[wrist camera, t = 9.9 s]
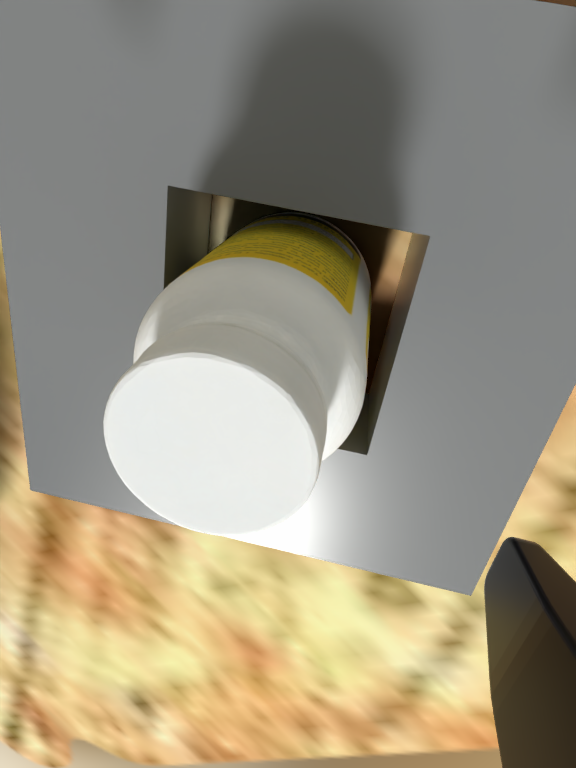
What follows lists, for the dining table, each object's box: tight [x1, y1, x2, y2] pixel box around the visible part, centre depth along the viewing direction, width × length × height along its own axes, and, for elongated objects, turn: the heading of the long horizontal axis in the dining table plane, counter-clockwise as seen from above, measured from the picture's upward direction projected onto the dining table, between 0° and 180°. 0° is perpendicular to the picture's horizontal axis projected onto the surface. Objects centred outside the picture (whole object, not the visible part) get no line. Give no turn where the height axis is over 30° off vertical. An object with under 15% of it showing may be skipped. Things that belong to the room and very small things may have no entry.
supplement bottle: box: [103, 212, 371, 536], centre depth 13 cm, size 5×5×10 cm
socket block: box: [0, 0, 576, 596], centre depth 16 cm, size 16×16×4 cm
